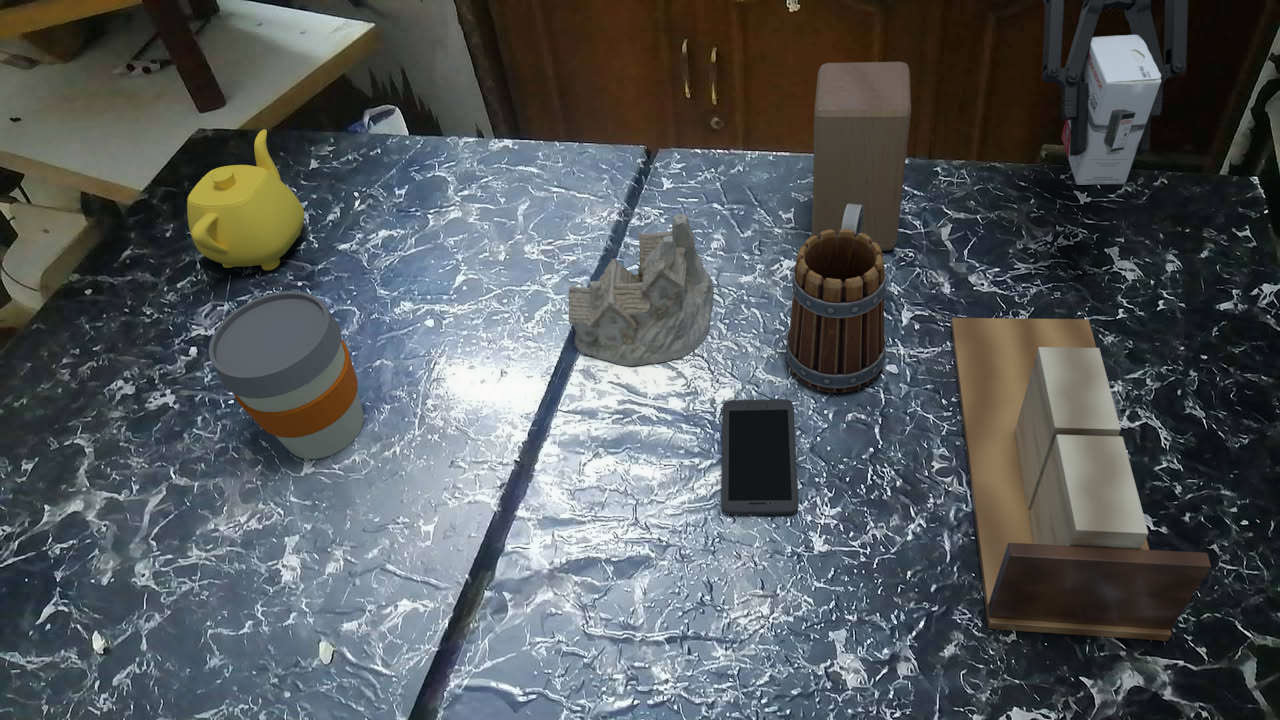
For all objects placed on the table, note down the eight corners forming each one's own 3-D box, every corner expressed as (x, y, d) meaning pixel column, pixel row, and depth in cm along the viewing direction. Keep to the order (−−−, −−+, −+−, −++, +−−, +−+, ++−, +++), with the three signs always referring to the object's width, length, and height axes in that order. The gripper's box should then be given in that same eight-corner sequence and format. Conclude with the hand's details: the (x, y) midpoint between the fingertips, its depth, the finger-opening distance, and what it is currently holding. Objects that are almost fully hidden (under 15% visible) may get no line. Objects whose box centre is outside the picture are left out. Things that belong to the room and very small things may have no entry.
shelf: (1086, 326, 99) (1117, 231, 90) (1167, 641, 76) (1222, 557, 66) (950, 325, 102) (966, 232, 92) (987, 629, 78) (1015, 546, 68)
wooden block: (895, 202, 117) (910, 57, 103) (896, 254, 111) (912, 108, 96) (815, 200, 119) (818, 59, 105) (811, 252, 113) (814, 108, 98)
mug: (877, 404, 96) (887, 299, 85) (776, 387, 99) (774, 284, 88) (898, 301, 105) (910, 195, 94) (805, 289, 108) (807, 185, 98)
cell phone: (793, 402, 97) (793, 397, 96) (799, 515, 88) (799, 511, 87) (722, 404, 98) (722, 399, 97) (721, 515, 89) (720, 511, 88)
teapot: (339, 201, 132) (305, 126, 123) (273, 297, 119) (230, 221, 110) (256, 197, 135) (218, 124, 126) (184, 291, 122) (135, 217, 113)
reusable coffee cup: (264, 406, 106) (204, 312, 95) (371, 370, 108) (324, 274, 97) (272, 488, 98) (207, 397, 87) (388, 448, 100) (339, 353, 89)
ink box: (1058, 136, 99) (1086, 33, 90) (1107, 135, 98) (1140, 31, 89) (1075, 186, 93) (1106, 81, 84) (1127, 185, 92) (1164, 79, 84)
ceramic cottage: (727, 273, 112) (710, 173, 101) (696, 377, 102) (673, 279, 91) (606, 267, 116) (577, 171, 106) (565, 366, 107) (528, 272, 96)
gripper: (1205, -81, 91) (1194, 157, 92) (1011, -70, 95) (1003, 160, 96) (1239, -116, 84) (1227, 143, 85) (1027, -103, 87) (1019, 147, 88)
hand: (1108, 152), depth 90 cm, fingers closed on ink box, 5 cm apart
